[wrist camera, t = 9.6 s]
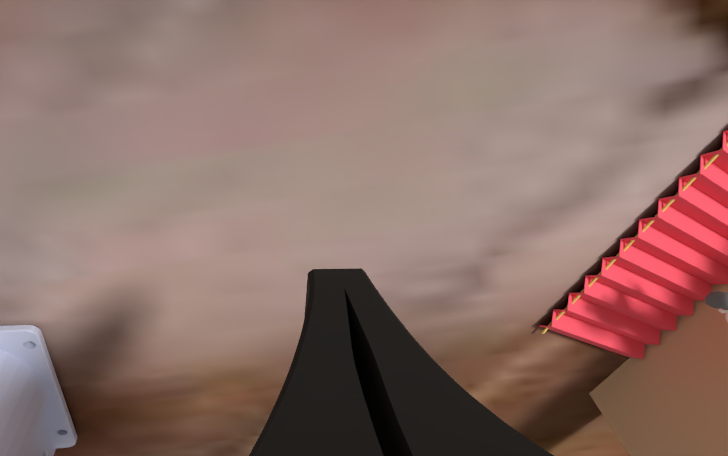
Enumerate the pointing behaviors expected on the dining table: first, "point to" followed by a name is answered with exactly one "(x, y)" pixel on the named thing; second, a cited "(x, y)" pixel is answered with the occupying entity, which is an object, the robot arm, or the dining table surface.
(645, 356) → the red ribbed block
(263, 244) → the dining table surface
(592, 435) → the dining table surface
